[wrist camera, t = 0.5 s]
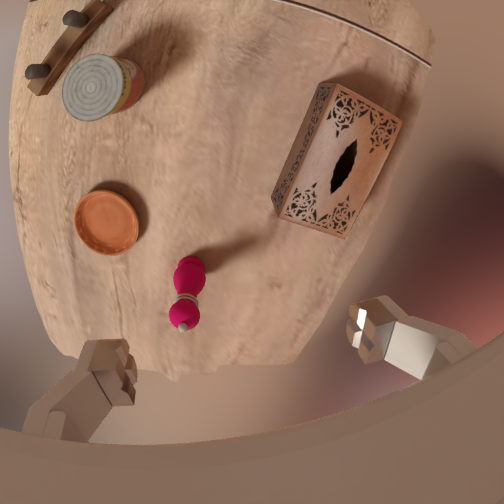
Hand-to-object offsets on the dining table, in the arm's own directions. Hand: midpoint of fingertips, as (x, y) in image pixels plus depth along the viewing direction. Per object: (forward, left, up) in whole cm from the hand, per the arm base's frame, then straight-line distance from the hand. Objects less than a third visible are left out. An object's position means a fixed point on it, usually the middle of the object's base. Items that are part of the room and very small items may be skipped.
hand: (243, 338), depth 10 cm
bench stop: (+9, -37, -49) cm, 62 cm away
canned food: (+9, -22, -49) cm, 55 cm away
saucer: (+33, -5, -49) cm, 59 cm away
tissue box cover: (-11, +17, -49) cm, 53 cm away
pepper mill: (+29, +17, -49) cm, 59 cm away
